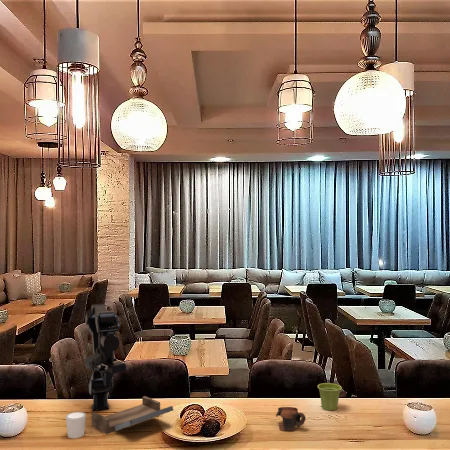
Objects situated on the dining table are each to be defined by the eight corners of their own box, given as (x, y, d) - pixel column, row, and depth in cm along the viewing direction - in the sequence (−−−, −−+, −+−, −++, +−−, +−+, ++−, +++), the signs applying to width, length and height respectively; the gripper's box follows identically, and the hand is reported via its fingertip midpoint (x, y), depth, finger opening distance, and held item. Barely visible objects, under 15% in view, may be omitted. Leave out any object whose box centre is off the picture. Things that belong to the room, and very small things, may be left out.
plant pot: (323, 402, 206) (323, 381, 206) (345, 407, 200) (345, 385, 200) (313, 409, 198) (313, 387, 198) (335, 414, 192) (335, 392, 192)
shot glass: (80, 439, 171) (80, 419, 171) (61, 438, 172) (61, 418, 172) (89, 431, 178) (89, 412, 177) (71, 430, 179) (71, 410, 179)
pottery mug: (271, 430, 179) (271, 406, 183) (283, 434, 186) (283, 411, 190) (300, 429, 173) (300, 404, 177) (313, 433, 179) (312, 409, 184)
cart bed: (91, 426, 182) (91, 412, 182) (144, 408, 199) (144, 396, 199) (106, 434, 175) (106, 420, 175) (160, 415, 192) (160, 402, 192)
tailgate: (114, 426, 177) (131, 419, 170) (154, 412, 190) (172, 405, 182) (115, 431, 177) (132, 424, 169) (155, 416, 189) (173, 410, 182)
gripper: (74, 344, 188) (74, 385, 188) (101, 353, 175) (101, 397, 175) (100, 339, 196) (100, 378, 196) (127, 348, 183) (127, 390, 183)
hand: (106, 386), depth 187 cm, fingers closed
